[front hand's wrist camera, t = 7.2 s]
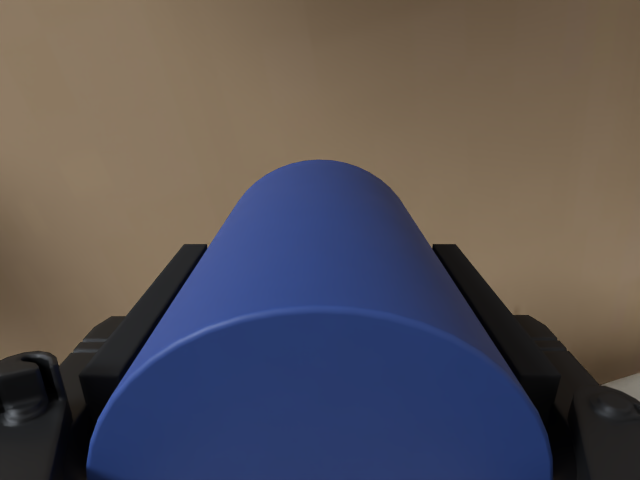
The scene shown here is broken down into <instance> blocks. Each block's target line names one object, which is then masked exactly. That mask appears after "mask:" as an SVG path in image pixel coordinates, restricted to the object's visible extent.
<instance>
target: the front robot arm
mask: <svg viewBox="0 0 640 480" xmlns="http://www.w3.org/2000/svg"><path fill="white" fill-rule="evenodd" d="M432 249H433V251H434V253H435V254H436V256H437V257H438V259H439V260H440V262H441V263H442V265H443V266H444V268H445V269H446V271H447V272H448V274H449V276H450V277H451V279H452V280H453V282H454V283H455V285H456V286H457V288H458V289H459V291H460V292H461V294H462V295H463V297H464V299H465V300H466V302H467V303H468V305H469V306H470V308H471V309H472V311H473V312H474V314H475V315H476V317H477V318H478V320H479V322H480V323H481V325H482V326H483V328H484V329H485V331H486V332H487V334H488V335H489V337H490V338H491V340H492V341H493V343H494V345H495V346H496V348H497V349H498V351H499V352H500V354H501V355H502V357H503V358H504V360H505V361H506V363H507V364H508V366H509V368H510V369H511V371H512V372H513V374H514V375H515V377H516V378H517V380H518V381H519V383H520V384H521V386H522V387H523V389H524V391H525V392H526V394H527V395H528V397H529V398H530V400H531V401H532V403H533V404H534V406H535V408H536V409H537V411H538V413H539V415H540V417H541V420H542V422H543V424H544V427H545V429H546V432H547V434H548V439H549V443H550V448H551V453H552V458H553V480H640V401H638V400H637V399H636V398H634V397H632V396H630V395H628V394H626V393H624V392H622V391H620V390H617V389H614V388H610V387H607V386H602V385H599V384H598V383H597V382H596V381H595V379H594V378H593V377H592V376H591V375H590V374H589V373H588V372H587V371H586V370H585V368H584V367H583V366H582V365H581V364H580V363H579V362H578V361H577V360H576V359H575V357H574V356H573V355H572V354H571V353H570V352H569V351H567V350H566V347H565V346H564V345H563V344H562V343H561V342H560V341H557V338H556V336H555V335H554V334H553V333H552V332H551V331H550V330H549V329H548V328H547V326H545V325H544V324H542V323H541V322H539V321H537V320H536V319H534V318H532V317H531V316H529V315H512V314H511V312H510V311H509V310H508V309H507V307H506V306H505V305H504V304H503V302H502V301H501V300H500V299H499V297H498V296H497V295H496V294H495V292H494V291H493V290H492V289H491V288H490V286H489V285H488V284H487V283H486V281H485V280H484V279H483V278H482V276H481V275H480V274H479V273H478V271H477V270H476V269H475V268H474V266H473V265H472V264H471V263H470V262H469V260H468V259H467V258H466V257H465V255H464V254H463V253H462V252H461V250H460V249H459V248H458V247H457V245H456V244H433V248H432ZM206 250H207V244H184V245H183V246H182V248H181V249H180V250H179V251H178V253H177V254H176V255H175V256H174V257H173V259H172V260H171V261H170V262H169V264H168V265H167V266H166V267H165V269H164V270H163V271H162V272H161V274H160V275H159V276H158V277H157V279H156V280H155V281H154V282H153V283H152V285H151V286H150V287H149V288H148V290H147V291H146V292H145V293H144V295H143V296H142V297H141V298H140V300H139V301H138V302H137V303H136V305H135V306H134V307H133V308H132V309H131V311H130V312H129V313H128V314H127V316H111V317H110V318H108V319H107V320H105V321H103V322H102V323H100V324H98V325H97V326H95V327H94V328H93V329H92V330H91V331H90V332H89V333H88V335H87V336H86V337H85V338H84V339H83V342H80V343H79V345H78V346H77V347H76V348H75V349H74V352H73V353H70V355H69V356H68V357H67V358H66V359H65V360H64V361H63V362H62V363H61V365H60V366H59V365H58V362H57V358H56V357H55V356H54V355H52V354H51V353H49V352H42V351H33V352H24V353H20V354H17V355H13V356H10V357H7V358H5V359H2V360H0V480H87V476H86V465H87V458H88V452H89V445H90V440H91V437H92V434H93V432H94V429H95V426H96V423H97V420H98V418H99V416H100V414H101V413H102V411H103V409H104V407H105V406H106V404H107V402H108V400H109V399H110V397H111V395H112V394H113V392H114V391H115V389H116V388H117V386H118V385H119V383H120V382H121V380H122V379H123V377H124V375H125V374H126V372H127V371H128V369H129V368H130V366H131V365H132V363H133V362H134V360H135V359H136V357H137V356H138V354H139V353H140V351H141V349H142V348H143V346H144V345H145V343H146V342H147V340H148V339H149V337H150V336H151V334H152V333H153V331H154V330H155V328H156V327H157V325H158V323H159V322H160V320H161V319H162V317H163V316H164V314H165V313H166V311H167V310H168V308H169V307H170V305H171V304H172V302H173V301H174V299H175V297H176V296H177V294H178V293H179V291H180V290H181V288H182V287H183V285H184V284H185V282H186V281H187V279H188V278H189V276H190V275H191V273H192V271H193V270H194V268H195V267H196V265H197V264H198V262H199V261H200V259H201V258H202V256H203V255H204V253H205V252H206Z"/></svg>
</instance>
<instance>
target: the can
mask: <svg viewBox="0 0 640 480" xmlns="http://www.w3.org/2000/svg"><path fill="white" fill-rule="evenodd" d="M86 476H87V480H553V458H552V453H551V448H550V443H549V439H548V434H547V432H546V429H545V427H544V424H543V422H542V420H541V417H540V415H539V413H538V411H537V409H536V408H535V406H534V404H533V403H532V401H531V400H530V398H529V397H528V395H527V394H526V392H525V391H524V389H523V387H522V386H521V384H520V383H519V381H518V380H517V378H516V377H515V375H514V374H513V372H512V371H511V369H510V368H509V366H508V364H507V363H506V361H505V360H504V358H503V357H502V355H501V354H500V352H499V351H498V349H497V348H496V346H495V345H494V343H493V341H492V340H491V338H490V337H489V335H488V334H487V332H486V331H485V329H484V328H483V326H482V325H481V323H480V322H479V320H478V318H477V317H476V315H475V314H474V312H473V311H472V309H471V308H470V306H469V305H468V303H467V302H466V300H465V299H464V297H463V295H462V294H461V292H460V291H459V289H458V288H457V286H456V285H455V283H454V282H453V280H452V279H451V277H450V276H449V274H448V272H447V271H446V269H445V268H444V266H443V265H442V263H441V262H440V260H439V259H438V257H437V256H436V254H435V253H434V251H433V249H432V248H431V246H430V245H429V243H428V242H427V240H426V239H425V237H424V236H423V234H422V233H421V231H420V230H419V228H418V226H417V225H416V223H415V222H414V220H413V219H412V217H411V216H410V214H409V213H408V211H407V210H406V208H405V207H404V205H403V203H402V202H401V200H400V199H399V197H398V196H397V195H396V194H395V193H394V192H393V191H392V189H391V188H390V187H389V186H387V185H386V184H385V183H384V182H383V181H382V180H380V179H379V178H377V177H376V176H374V175H373V174H371V173H370V172H368V171H365V170H363V169H361V168H359V167H357V166H354V165H350V164H347V163H344V162H338V161H333V160H308V161H301V162H297V163H292V164H289V165H286V166H283V167H281V168H278V169H276V170H274V171H272V172H270V173H269V174H267V175H265V176H264V177H262V178H261V179H260V180H258V181H257V182H256V183H254V184H253V185H252V186H251V187H250V188H249V189H248V190H247V191H246V192H245V194H244V195H243V196H242V197H241V199H240V200H239V201H238V203H237V204H236V206H235V207H234V209H233V210H232V212H231V213H230V215H229V216H228V218H227V220H226V221H225V223H224V224H223V226H222V227H221V229H220V230H219V232H218V233H217V235H216V236H215V238H214V239H213V241H212V242H211V244H210V246H209V247H208V249H207V250H206V252H205V253H204V255H203V256H202V258H201V259H200V261H199V262H198V264H197V265H196V267H195V268H194V270H193V271H192V273H191V275H190V276H189V278H188V279H187V281H186V282H185V284H184V285H183V287H182V288H181V290H180V291H179V293H178V294H177V296H176V297H175V299H174V301H173V302H172V304H171V305H170V307H169V308H168V310H167V311H166V313H165V314H164V316H163V317H162V319H161V320H160V322H159V323H158V325H157V327H156V328H155V330H154V331H153V333H152V334H151V336H150V337H149V339H148V340H147V342H146V343H145V345H144V346H143V348H142V349H141V351H140V353H139V354H138V356H137V357H136V359H135V360H134V362H133V363H132V365H131V366H130V368H129V369H128V371H127V372H126V374H125V375H124V377H123V379H122V380H121V382H120V383H119V385H118V386H117V388H116V389H115V391H114V392H113V394H112V395H111V397H110V399H109V400H108V402H107V404H106V406H105V407H104V409H103V411H102V413H101V414H100V416H99V418H98V420H97V423H96V426H95V429H94V432H93V434H92V437H91V440H90V445H89V452H88V458H87V465H86Z"/></svg>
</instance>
